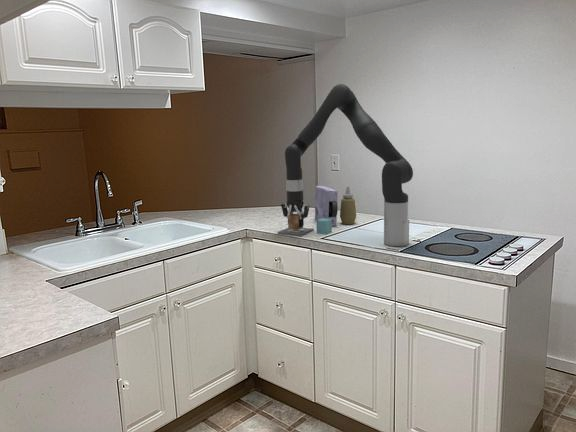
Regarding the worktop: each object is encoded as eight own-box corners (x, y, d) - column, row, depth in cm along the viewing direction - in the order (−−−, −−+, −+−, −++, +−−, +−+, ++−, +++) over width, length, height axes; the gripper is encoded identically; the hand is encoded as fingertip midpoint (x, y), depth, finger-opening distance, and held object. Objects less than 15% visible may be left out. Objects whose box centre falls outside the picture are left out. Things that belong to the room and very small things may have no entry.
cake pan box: (338, 226, 221) (338, 190, 218) (328, 227, 220) (328, 190, 216) (323, 219, 239) (322, 185, 236) (314, 220, 238) (313, 186, 234)
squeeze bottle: (351, 225, 222) (351, 188, 219) (336, 224, 227) (336, 187, 223) (359, 222, 228) (359, 186, 225) (345, 221, 233) (344, 185, 230)
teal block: (331, 232, 211) (331, 219, 210) (326, 234, 207) (326, 221, 206) (321, 231, 214) (321, 218, 213) (316, 233, 209) (316, 220, 208)
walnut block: (303, 227, 213) (302, 214, 211) (297, 229, 208) (297, 216, 207) (293, 226, 215) (293, 213, 214) (288, 228, 211) (287, 215, 210)
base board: (313, 230, 214) (313, 228, 214) (300, 236, 204) (300, 234, 204) (291, 228, 220) (291, 226, 220) (277, 233, 210) (277, 231, 210)
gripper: (312, 189, 208) (313, 226, 211) (285, 187, 215) (286, 223, 218) (304, 191, 202) (305, 229, 205) (276, 189, 209) (278, 226, 212)
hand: (295, 226), depth 212 cm, fingers closed on walnut block, 4 cm apart
